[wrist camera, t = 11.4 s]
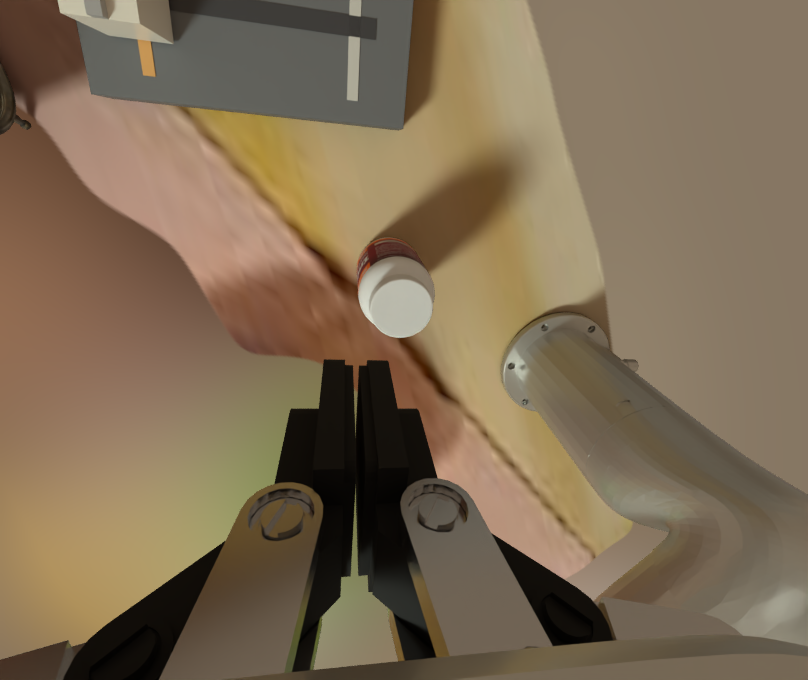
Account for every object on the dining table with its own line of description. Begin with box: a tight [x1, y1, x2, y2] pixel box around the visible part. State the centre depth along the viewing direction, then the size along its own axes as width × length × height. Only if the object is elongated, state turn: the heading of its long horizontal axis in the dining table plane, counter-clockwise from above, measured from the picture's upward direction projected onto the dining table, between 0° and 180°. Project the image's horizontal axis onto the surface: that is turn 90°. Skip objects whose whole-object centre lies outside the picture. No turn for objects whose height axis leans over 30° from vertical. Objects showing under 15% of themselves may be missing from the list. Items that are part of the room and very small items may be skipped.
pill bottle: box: [357, 237, 435, 338], centre depth 34 cm, size 6×6×11 cm
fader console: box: [76, 0, 413, 130], centre depth 28 cm, size 22×12×3 cm, turn 84°
